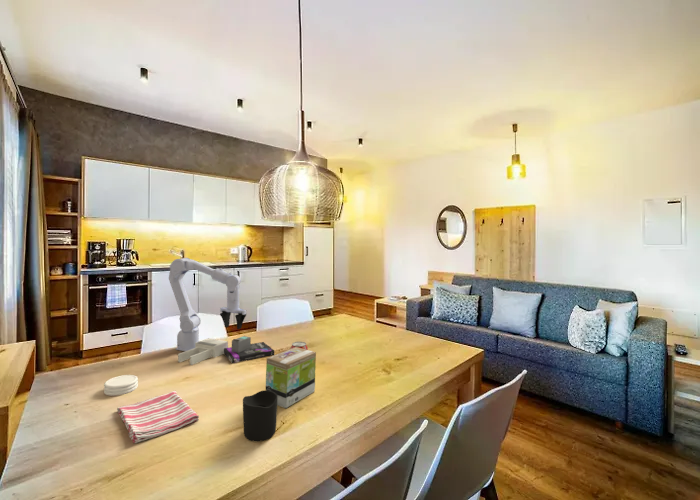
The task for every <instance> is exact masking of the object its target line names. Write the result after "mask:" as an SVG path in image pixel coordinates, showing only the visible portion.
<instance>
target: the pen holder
mask: <svg viewBox="0 0 700 500" xmlns="http://www.w3.org/2000/svg"><path fill="white" fill-rule="evenodd" d="M277 400H278V396H277V394H276V393H275V392H272V391H267V390H266V389H264V390H260V391H257V392H256V393H254V394H252V395H245V396H243V398H242V417H243V418H242V419H243V423H242V424H243V436H244V437H245V439H247V440H248V441H250V442H253V443H257V442H264V441H267V440H269V439H271V438H272V437H273V436H274V435H275V433H276V431H277V430H276V429H277V421H278V420H277V418H278V417H277V415H278V405H277Z"/></svg>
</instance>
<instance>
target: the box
mask: <svg viewBox="0 0 700 500" xmlns="http://www.w3.org/2000/svg"><path fill="white" fill-rule="evenodd" d="M223 355H224V356H225V357H226V358H227V360H229V362H230V363H231V364H235V363H236V364H237V363H240V362H245V361H246V360H247V361H251V360H256V359H261V358H268V357H271V356H274V355H275V349H273V348H272V347H271V346H269V345H268V344H266V342H264V341H261V342H254V343H251V346H250V348H249V349H246V350H244V351H242V352H239V353H236V352H232V346H230V347H228V348H224V354H223ZM247 361H246V362H247Z"/></svg>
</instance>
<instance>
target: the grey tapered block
mask: <svg viewBox="0 0 700 500" xmlns="http://www.w3.org/2000/svg"><path fill="white" fill-rule="evenodd" d="M251 338H252V337H250V336H246V335H243V336H239V337H237V338H233V339H232V340H231V347H232V352H236V353H239V352H242V351H244V350H246V349H249V348H250V346H251V344H252V343H251V342H252V339H251Z"/></svg>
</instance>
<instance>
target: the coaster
mask: <svg viewBox="0 0 700 500" xmlns="http://www.w3.org/2000/svg"><path fill="white" fill-rule="evenodd" d="M103 383H104V384H103V389H104V390H103V393H104V395H106V396H112V397H114V396H122V395H125V394H128V393H131V392H133V391H135V390H136V389H137V388H138V386H139V376H136V375H134V374H123V375H119V376H118V375H117V376H114V377H111V378H109V379H108V380H106V381H105V382H103Z"/></svg>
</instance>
